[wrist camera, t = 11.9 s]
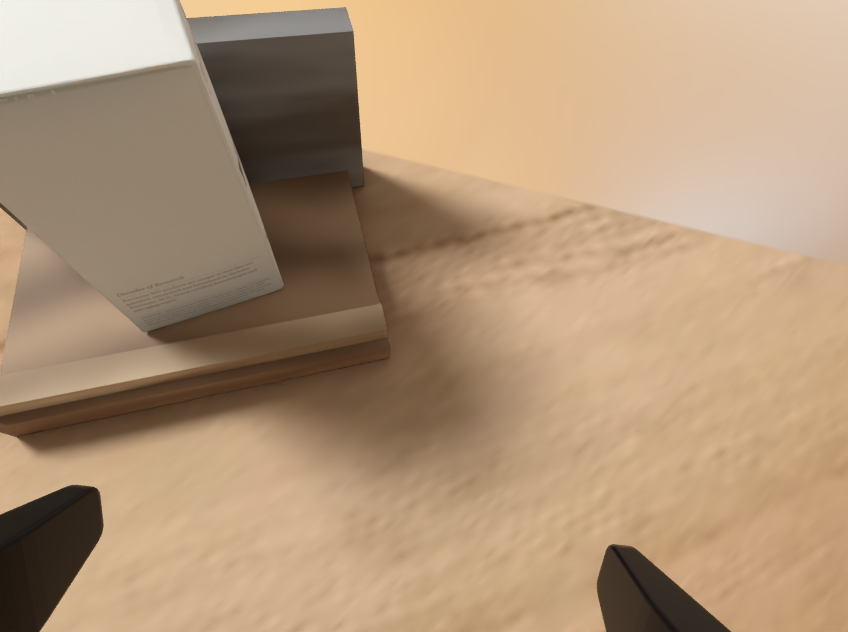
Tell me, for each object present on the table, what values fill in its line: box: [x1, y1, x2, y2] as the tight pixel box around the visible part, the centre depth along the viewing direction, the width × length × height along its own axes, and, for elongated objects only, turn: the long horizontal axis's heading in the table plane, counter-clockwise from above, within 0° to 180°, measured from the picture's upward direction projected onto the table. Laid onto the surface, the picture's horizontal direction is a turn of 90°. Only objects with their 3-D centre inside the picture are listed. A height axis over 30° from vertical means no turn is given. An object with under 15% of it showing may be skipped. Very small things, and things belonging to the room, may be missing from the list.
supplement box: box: [0, 0, 284, 332], centre depth 19 cm, size 7×7×13 cm
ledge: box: [0, 7, 390, 437], centre depth 21 cm, size 14×20×10 cm
